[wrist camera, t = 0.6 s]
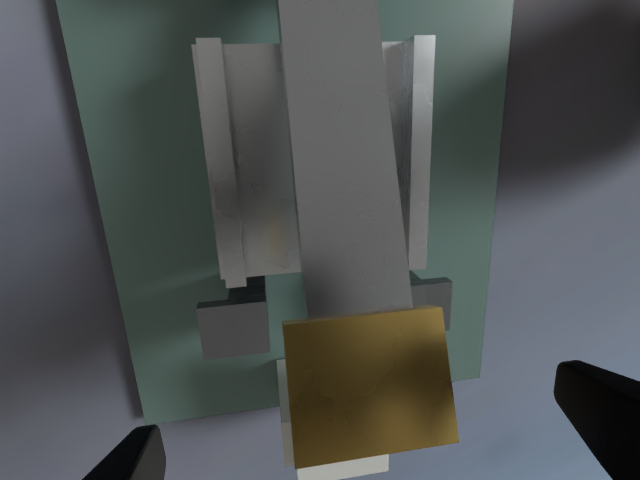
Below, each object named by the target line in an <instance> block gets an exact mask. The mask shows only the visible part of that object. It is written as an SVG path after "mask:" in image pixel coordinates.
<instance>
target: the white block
mask: <svg viewBox="0 0 640 480" xmlns="http://www.w3.org/2000/svg"><path fill="white" fill-rule="evenodd" d="M276 361H277V374H278V387H279V400H280V413H281V426H282V438H283V449H284V460H285V467H286V466H292V465H295V463H294V455H293V445H292V434H291V422H290V411H289V399H288V388H287V376H286V365H285V359H280V360H276ZM388 457H389V454H386V455H380V456H374V457H368V458H362V459H356V460H350V461H344V462H338V463H332V464H326V465H320V466H314V467H308V468H301V469H297V478H298V480H339V479H344V478H350V477H356V476H362V475H367V474H373V473H379V472H385V471H388Z"/></svg>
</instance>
